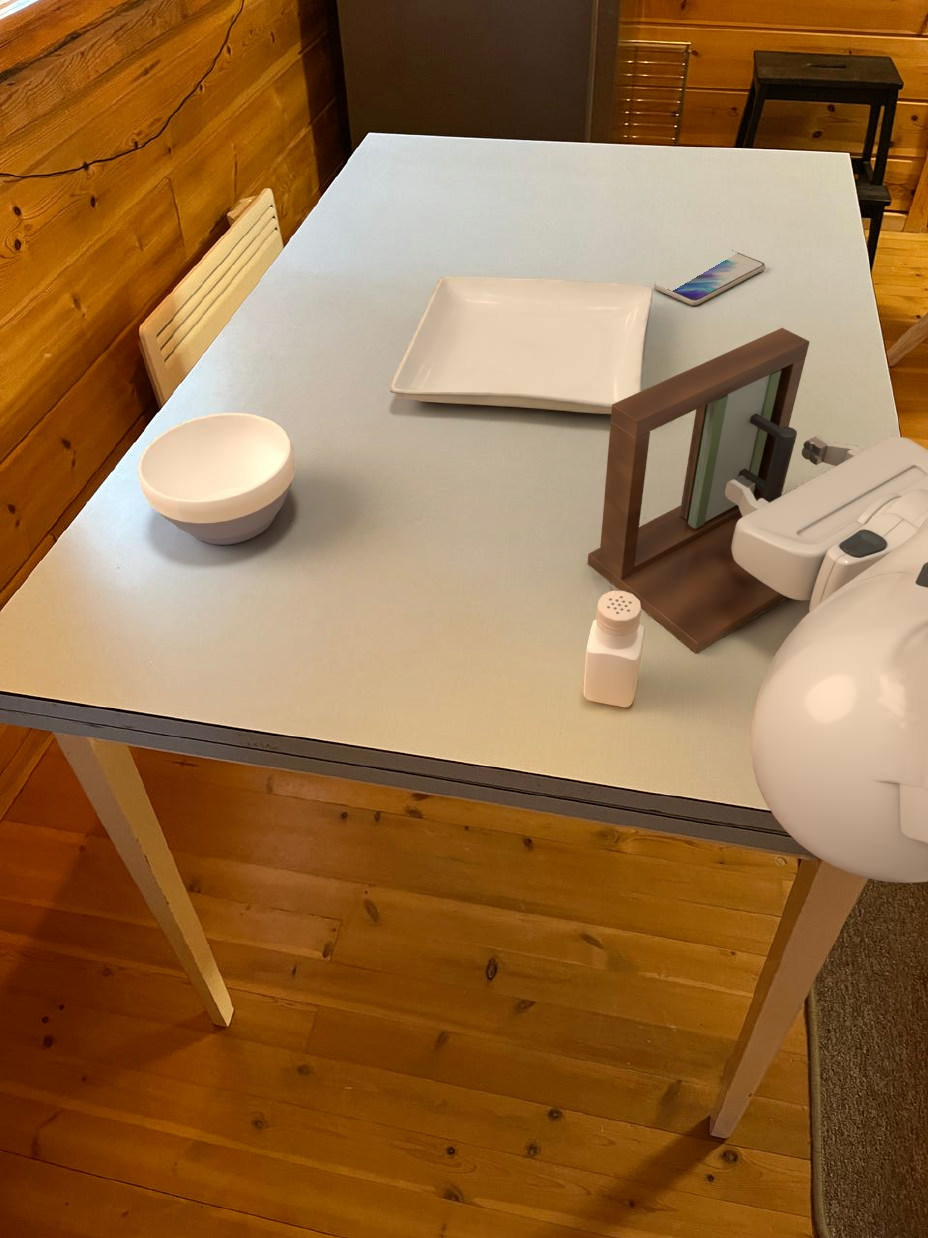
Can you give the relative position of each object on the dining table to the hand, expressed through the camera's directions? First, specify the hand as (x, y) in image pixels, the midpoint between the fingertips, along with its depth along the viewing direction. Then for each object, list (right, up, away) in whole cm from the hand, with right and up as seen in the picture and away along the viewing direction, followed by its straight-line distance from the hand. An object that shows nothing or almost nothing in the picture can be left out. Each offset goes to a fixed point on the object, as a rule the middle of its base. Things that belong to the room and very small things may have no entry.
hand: (770, 464), depth 80 cm
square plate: (-19, +17, +31) cm, 40 cm away
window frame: (-3, -8, +4) cm, 10 cm away
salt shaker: (-15, -19, -5) cm, 25 cm away
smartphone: (+6, +31, +43) cm, 53 cm away
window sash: (-2, -5, +5) cm, 7 cm away
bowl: (-50, -3, +12) cm, 51 cm away
